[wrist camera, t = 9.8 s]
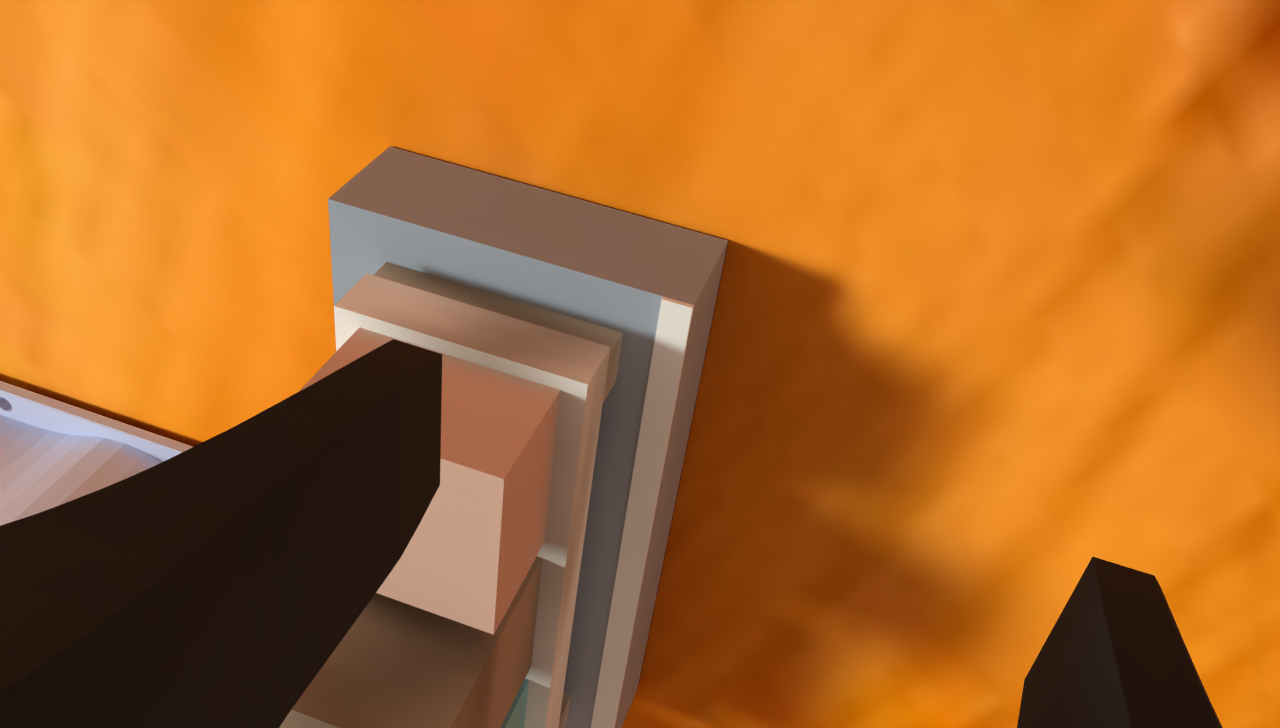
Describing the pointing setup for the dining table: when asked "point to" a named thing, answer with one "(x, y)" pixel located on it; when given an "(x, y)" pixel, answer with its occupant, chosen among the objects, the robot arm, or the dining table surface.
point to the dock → (590, 291)
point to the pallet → (569, 441)
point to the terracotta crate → (476, 490)
